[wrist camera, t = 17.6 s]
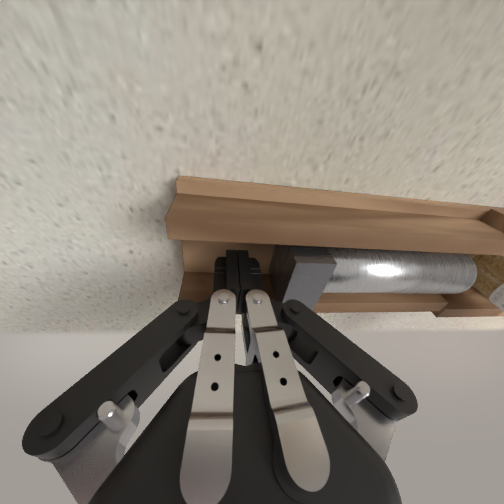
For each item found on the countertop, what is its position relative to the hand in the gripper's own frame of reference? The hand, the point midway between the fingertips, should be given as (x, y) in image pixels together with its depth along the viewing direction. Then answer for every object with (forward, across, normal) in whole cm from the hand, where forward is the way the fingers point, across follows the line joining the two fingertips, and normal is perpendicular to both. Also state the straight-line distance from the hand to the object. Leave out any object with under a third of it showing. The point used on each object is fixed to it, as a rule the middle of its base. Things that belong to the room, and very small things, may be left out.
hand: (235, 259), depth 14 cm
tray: (+2, -11, 0) cm, 11 cm away
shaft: (+1, -10, 0) cm, 10 cm away
